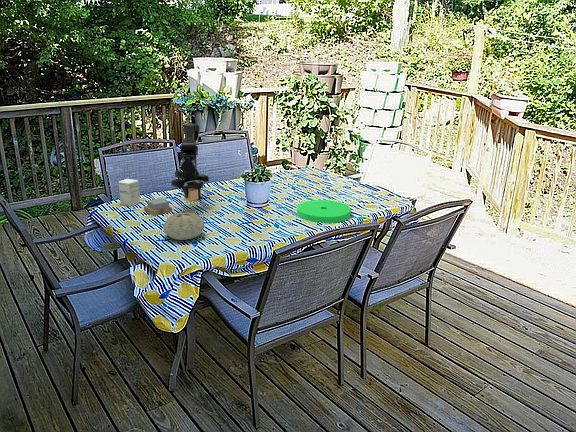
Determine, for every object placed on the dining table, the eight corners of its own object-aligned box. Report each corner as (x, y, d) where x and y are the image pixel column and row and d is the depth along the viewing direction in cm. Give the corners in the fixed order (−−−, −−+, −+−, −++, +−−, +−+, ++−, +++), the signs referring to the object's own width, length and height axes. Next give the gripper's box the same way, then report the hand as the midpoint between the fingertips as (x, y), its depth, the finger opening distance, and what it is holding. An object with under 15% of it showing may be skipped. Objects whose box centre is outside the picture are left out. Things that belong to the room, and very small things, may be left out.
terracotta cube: (192, 196, 258) (192, 187, 256) (198, 199, 254) (197, 189, 253) (184, 198, 255) (183, 189, 253) (189, 201, 251) (189, 191, 249)
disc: (354, 208, 263) (354, 202, 262) (345, 226, 239) (346, 219, 238) (304, 203, 270) (304, 197, 269) (290, 220, 246) (291, 213, 244)
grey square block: (162, 203, 258) (162, 197, 257) (169, 207, 252) (168, 201, 251) (147, 206, 253) (147, 200, 252) (154, 210, 248) (153, 204, 246)
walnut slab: (162, 208, 260) (161, 202, 259) (172, 213, 253) (171, 207, 252) (144, 212, 254) (143, 206, 253) (154, 217, 247) (153, 211, 246)
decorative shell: (155, 237, 221) (153, 216, 218) (184, 226, 235) (183, 205, 232) (185, 247, 212) (183, 224, 208) (213, 234, 226) (212, 213, 222)
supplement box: (120, 204, 263) (117, 181, 258) (130, 200, 269) (128, 178, 265) (130, 207, 259) (128, 183, 255) (140, 203, 266) (138, 180, 261)
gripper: (196, 161, 260) (197, 190, 266) (164, 166, 248) (166, 196, 254) (209, 165, 253) (210, 194, 258) (176, 171, 241) (178, 202, 246)
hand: (191, 197), depth 254 cm, fingers closed on terracotta cube, 5 cm apart
